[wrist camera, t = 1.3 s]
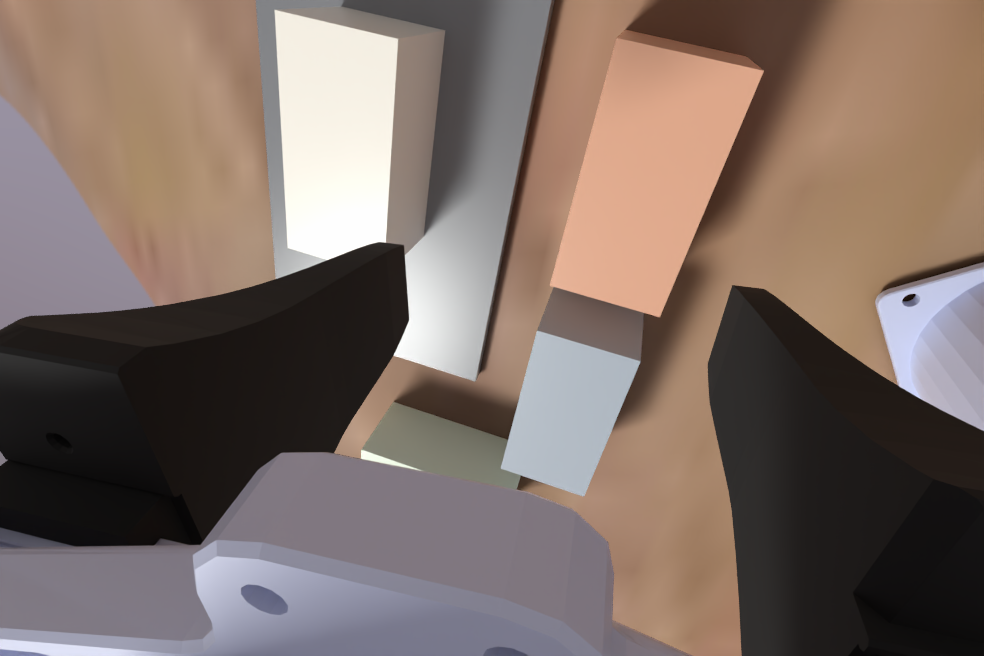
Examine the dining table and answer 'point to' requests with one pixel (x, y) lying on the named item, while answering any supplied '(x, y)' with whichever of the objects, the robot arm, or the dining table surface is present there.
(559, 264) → the terracotta brick
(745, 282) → the dining table surface
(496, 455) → the sage brick
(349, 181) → the cream brick
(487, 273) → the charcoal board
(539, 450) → the slate brick
